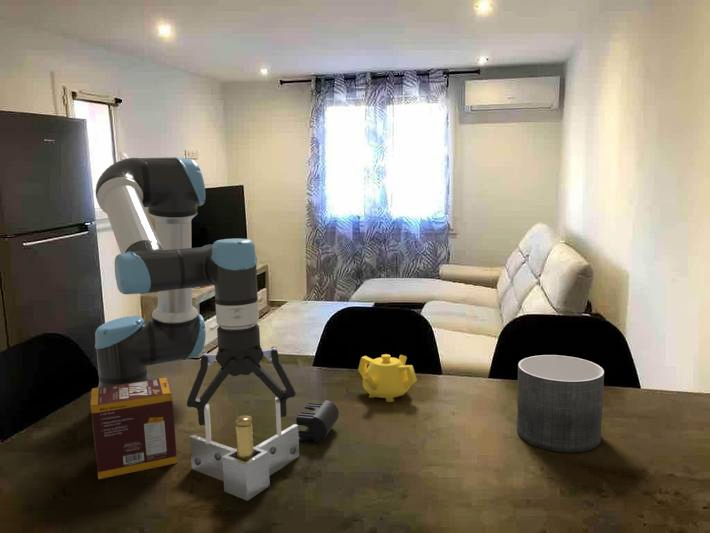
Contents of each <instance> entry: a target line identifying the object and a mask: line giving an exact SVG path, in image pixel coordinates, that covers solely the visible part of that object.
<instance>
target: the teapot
mask: <svg viewBox="0 0 710 533" xmlns="http://www.w3.org/2000/svg"><path fill="white" fill-rule="evenodd" d="M407 359H408V357H407V356H406V355H403V354H400V355H399V357H398V358H397V357H391V355H390V354H387V353H385V354H381V357H376V358H371V357H369V356H367V355H364V356H362V357H361V358H360V360H359V364H358V368H357V371H358V373H359V374H360V375H361V377H362V388H363V389H364V391H366V392H367V394H369V395H368V398H370V399H375V398H381V399H385V402H387V403H392V402H394V401H395V398H398V397H401V396H405V393H406V392H408V391H409V389H410V387H411V386H412V385H413V384H415V383H416V382H418V379H417V375H416V372H415V369H414V366H413V365H412V364H406V362H407Z"/></svg>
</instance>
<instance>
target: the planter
mask: <svg viewBox="0 0 710 533" xmlns="http://www.w3.org/2000/svg"><path fill="white" fill-rule="evenodd" d="M604 383H605V370H604V368H603V367H602V366H600V365H599V364H597V363H595V362H593V361H590V360H587V359H583V358H580V357H574V356H567V355H558V354H542V355H541V354H540V355H534V356H533V355H531V356H529V357H524V358H523V359H521V360H519V362H518V364H517V405H516V406H517V412H516V413H517V414H516V415H517V416H516V418H517V421H516V432H517V435H518V436H519V437H520V439H522V440H524V441H525V442H526V443H528V444H530V445H532V446H535V447H537V448H540V449H543V450H547V451H549V452H550V451H551V452H558V453H566V454H567V453H575V454H576V453H582V452H588V451H592V450H593V449H596V448H597V447H598V446H600V444H601V443H602V442H601V441H602V422H603V421H602V420H603V405H604V403H603V402H604V387H605V384H604Z"/></svg>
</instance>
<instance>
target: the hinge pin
mask: <svg viewBox="0 0 710 533" xmlns="http://www.w3.org/2000/svg"><path fill="white" fill-rule="evenodd" d="M234 422H235V435H236V436H235V438H236V440H235V441H236V449H237V459H239V460H241V461H244V462H246V461H248V460H250V459H251V458H253V457H254V454H253V447H254V438H253V436H254V434H253V418H252V415H251V416H250V415H247V414H246V415H239V416H236V418H235V419H234Z"/></svg>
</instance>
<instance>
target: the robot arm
mask: <svg viewBox="0 0 710 533" xmlns="http://www.w3.org/2000/svg"><path fill="white" fill-rule="evenodd" d="M203 176H204V175H203V174H202V170H201V168H200V166H199V164H198V163H197V162H196V161H195V160H194V159H192V158H188V157H187V158H186V157H184V158H183V157H175V156H174V157H128V158H125V159H120V160H119V161H116V162H115V163H112V164H111V165H110V166H108V167H107V168H106V169H105V170H104V171H103V172H102V173H101V175H100V177H99V178H98V180H97V182H96V186H95V199H96V201H97V204H98V206H99V208H100V209H101V210H102V212H103V213H105V214H106V215H107V218H108V220H109V221H108V222H109V223H110V226H111V230H112V233H113V235H114V238H115V240H116V244H117V246H118V249H119V250H118V251H119V252H120V253H119V254H117V255H115V258H114V276H115V281H116V287H117V289H118V291H119V293H120V294H123V295H137V294H139V295H145V294H150V293H157V307H156V308H155V309H154V310H153V311H152V314H151V320H144V318H143V317H142V316H139V315H133V316H123V317H120V318H119V317H118V318H115V319H112V320H109V321H106V322H104V323H103V324H101V325H99V326H98V327H97V329H95V333H94V336H95V338H94V339H95V344H94V348H95V349H96V350H95V351H96V359H97V360H96V363H97V374H98V386H97V388H99V387H106V386H113V385H120V384H127V383H134V382H140V381H146V380H150V378H149V376H148V366H154V365H160V364H165V363H171V362H177V361H186V360H189V359H192V358H196V357H198V356H199V355H200V354H201V355H200V367H199V370H198V372H197V375H196V376H195V379H194V382H193V384H192V388H191V390H190V392H189V394H188V398H187V401H186V406H187V408H192V407H193V408H195V409H196V410H197V418H198V419H197V420H198V425H199V426H204V428H205V429H204V430H205V439H206V444H210V443H211V441H212V428H211V426H212V425H211V412H210V411H211V410H210V409H211V408H210V404H209V403H208V402H210V400H211V399H212V397H213V395H214V394H215V393H216V391H218V389H219V387H220V386H221V385H222V383H223V381H225V380H226V378H228V375H229V376H231V377H237V376H241V375H242V376H249V375H251V374H252V373H253V374H254V375H255V376H256V377H257V378H258V379H259V380H260V381H261V382H262V383H263V384H264V385H265V386H266V387H267V388H268V390H270V391H271V393H273V395H274V396H275V397H274V399H275V400H274V405H275V406H274V407H275V422H276V423H275V425H276V434H277V436H281V431H282V418H286V417H287V413H288V412H287V400H288V399H290V398H294V397H295V396H296V391H295V390H296V389H295V387H294V385H293V384H292V381H291V380H290V377H289V376H288V374H287V372H286V370H285V368H284V366H283V364H282V363H281V361H280V359H279V352H278V348H277V346H271V348H267V349H262V346H261V336H260V325H259V324H258V322H259V321H260V314H259V313H260V312H259V300H258V299H259V297H258V293H259V292H258V273H257V272H258V269H257V262H258V258H257V255H256V245H255V243H254V241H253V240H252V239H249V238H224V239H218V240H215V241H214V242H213V244H206V245H203V246H201V247H199V246H198V247H192V220H193V218H195V217H196V216H197V215H198V207H201V206H203V205H204V204H205V202H206V187H205V186H206V185H205V180H204V177H203ZM146 208H148V209H147V210H146ZM147 211H148V212H147ZM150 216H151V217H152V218H153V220H154V221H155V227H154V226H153V223H152V220H151V219H150ZM211 286H213V287H214V296H215V298H214V300H215V316H216V317H215V318H216V324H217V325H218V327H217V328H216V331H217V332H216V333H217V334H216V335H217V352H216V353H208V352H207V351H203V350H204V348H205V342H206V336H207V335H206V332H207V331H206V322H205V319H204V317H203V315H201V314H199V311H198V309H197V307H195V306H194V305H193V289H194V288H200V287H201V288H202V287H211ZM264 357H265V358H266V359H267V361H269V362H271V363H272V365H273V367H274V369H275V371H276V373H277V375H278V377H279V379H280V381H281V383H282V384H283V387H284V388H285V390H283V389H282V388H281V386H280V385H279V384H278V382H276V381H275V380H274V379H273V378H272V377H271V376H270V375H269V374H268V372H267V371H266V370H265V369H264V368H263V366H262V365H261V364H260V363H261V361H262V359H263V358H264ZM215 361H216V362H217V363H218V364H219V365H220V369H219V370H218V372H217V374H216V375H215V377H214V378H213V379H212V380H211V382H210V383H209V385H208V386H207V387H206V389H205V390H204V392H203V393H202V395H201V396H200V398H199V397H198V394H199V392H200V389H201V387H202V384H203V382H204V379H205V378H206V374H207V371H208V368H209V367H211V366H212V365H213V363H214V362H215ZM197 397H198V398H197Z"/></svg>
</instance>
